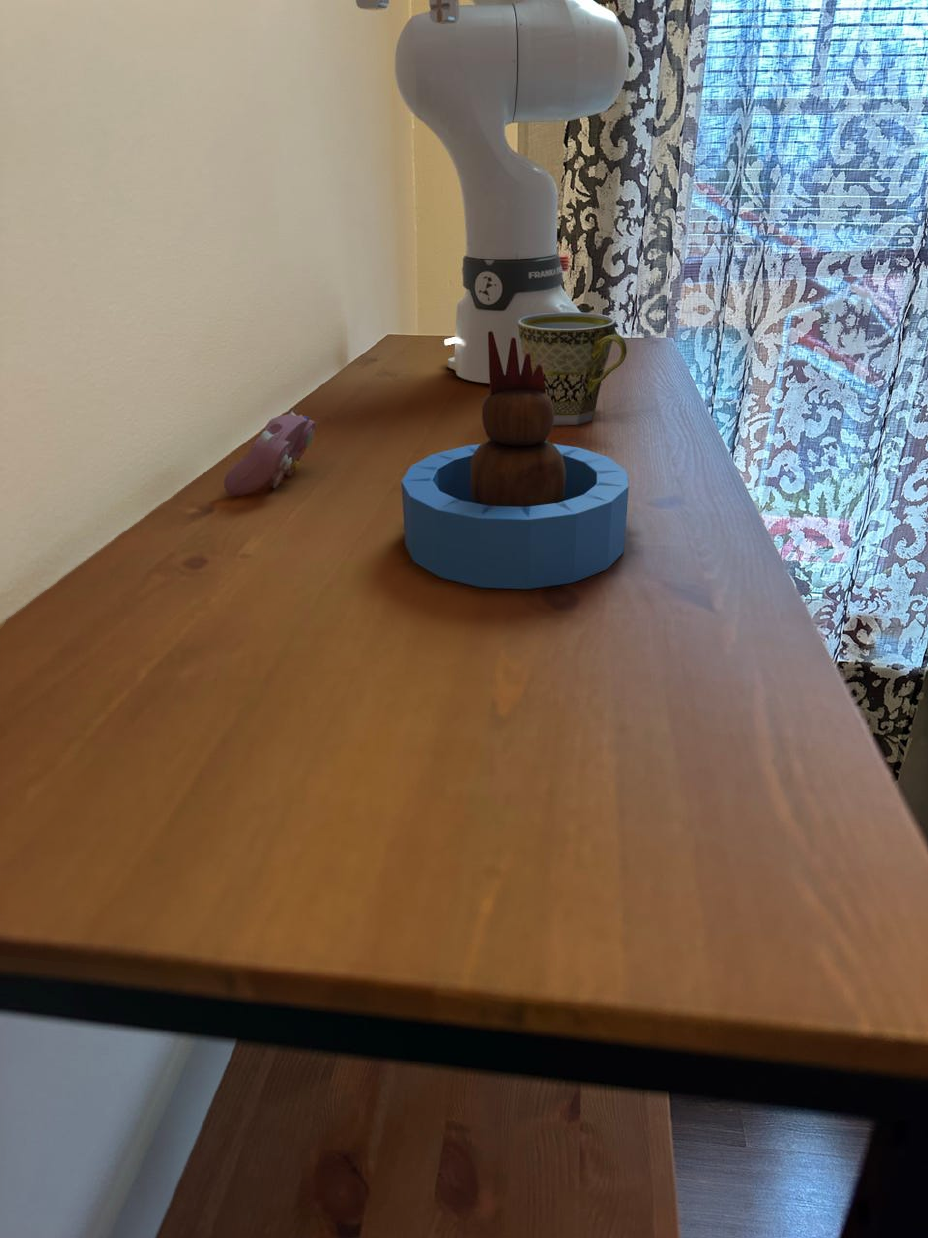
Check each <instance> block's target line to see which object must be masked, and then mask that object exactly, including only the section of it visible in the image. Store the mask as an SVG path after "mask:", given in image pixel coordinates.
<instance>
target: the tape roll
mask: <svg viewBox="0 0 928 1238" xmlns="http://www.w3.org/2000/svg"><path fill="white" fill-rule="evenodd" d="M481 444H482V443H478V444H472V445H471V444H470V445H464V446H461V447H460V446H459V447H456V448H453V449H448V450H444V451H441V452H440V451H439V452H437V453H433V454H431V455H429V456H426V457H425V458H424V459H423V458H422V459H421V460H419V461H418V462H416V463H414V464H412V465H410V466H409V468H408V469H407V471H406V473H405V474H404V475H403V478H402V480H401V482H400V483H401V484H400V485H401V499H402V513H403V514H402V515H403V528H404V543H405V546H406V548H407V551H408V554H409V555H410V557H411V560H412V561H413V563H415V564H416V565H418V566H420V567H421V568H423V569H425V570H427V571H428V572H430V573H432V574H433V575H435V576H437V577H439V578H441V579H444V580H447V581H448V580H449V581H452V582H457V583H461V584H465V585H469V586H473V587H477V588H481V589H482V588H483V589H506V590H507V589H510V590H533V589H541V588H547V587H553V586H561V585H568V584H574V583H576V582H579V581H581V580H584V579H586V578H590V577H592V576H594V575H597V574H599V573H601V572H604V571H607V570H608V569H609V568H610V567H611V566H612V565H613V564H614V563H615V562H616V561H617V560H618V559H619V558H620V557H621V556H622V555H623V554H624V552H625V542H626V531H627V530H626V529H627V516H628V515H627V514H628V502H629V490H630V485H629V484H630V483H629V473H628V471H627V470H626V469H625V468H623V466H621V465H619V464H618V463H617V462H615V461H614V460H613V459H612V458H611V457H609V456H605V455H603V454H600V453H597V452H594V451H591V450H588V449H585V448H581V447H576V446H569V445H563V444H557V443H552V444H553V445H554V446H555V447H556V448H557V449H558V450H559V452H560V453H561V455H562V457H563V460H564V464H565V468H566V477H565V491H564V499H563V502H560V503H554V504H546V505H537V506H529V507H511V506H487V505H482V504H477V503H473V502H472V494H471V470H470V466H471V461H472V456H473V454H474V452H475V451H476V449H477V448H478V446H479V445H481Z"/></svg>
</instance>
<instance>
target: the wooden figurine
mask: <svg viewBox="0 0 928 1238" xmlns="http://www.w3.org/2000/svg"><path fill="white" fill-rule="evenodd" d="M488 348H489V378H490V384H489V390H490V391H489V392H490V393H489V394H488V395H487V396H485V397H484V400H483V405H482V407H481V408H482V410H481V420H482V426H483V428H484V431H485V434H486V436H487V437H488V439H489V440H485V441H483V442H482V443H480V444H481V445H479V446H478V448H477V449H476V451H475V452H474V454H473V456H472V461H471V466H470V470H471V494H472V502H473V503H477V504H482V505H487V506H511V507H529V506H537V505H546V504H554V503H560V502H563V499H564V491H565V477H566V468H565V464H564V460H563V457H562V455H561V453H560V452H559V450H558V449H557V448H556V447H555V446H554V445H553V444H554V443H552V442H550V441H547V439H548V437H549V436H550V435H551V432H552V429H553V427H554V425H553V422H554V407H553V404H552V401H551V398H550V397H549V396H548V394H547V393H546V389H545V382H544V375H543V370H542V366H541V365H540V364H538V365H537V367H536V369H535V371H534V373H533V374H532V368H531V359H530V354H529V353H527V354H526V355H525V359H524V364H523V368H522V372H521V375H520V371H519V362H518V354H517V346H516V339H515V338H511V343H510V350H509V356H508V363H507V369H506V375H504V372H503V369H502V365H501V361H500V357H499V354H498V350H497V346H496V342H495V338H494V335H493V332H492V331H489V332H488Z"/></svg>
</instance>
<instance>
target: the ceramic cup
mask: <svg viewBox="0 0 928 1238" xmlns="http://www.w3.org/2000/svg"><path fill="white" fill-rule="evenodd" d="M616 323H617V320H616V319H615V318H614V317H612V316H609V315H605V314H601V313H594V312H593V313H592V312H582V311H580V312H557V313H543V314H536V315H531V316H527V317H524V318H521V319H520V320H519V321H518V327H519V335H520V341H521V347H522V353H523V357H524V359H525V355H526V354H527V353H529V354H530V359H531V368H532V374H533V373H534V371H535V369H536V367H537V365H538V364H540V365H541V366H542V370H543V375H544V382H545V389H546V393H547V394H548V396H549V397H550V398H551V401H552V404H553V407H554V422H553V426H554V425H555V426H556V425H557V426H558V425H559V426H561V425H563V426H566V425H567V426H568V425H570V426H574V425H580V424H584V423H588V422H590V421H591V422H592V421H593V419H594V418H595V413H596V408H597V404H598V399H599V398H598V397H599V394H600V390H601V385H602V382H603V381H604V380H605V379H606V378H607V377H608V375H609V374H611V372H612V371H614V370H615V369H617V368H619V366H620V365H622V364H623V362H624V361H625V359H626V357H627V354H628V353H627V352H628V349H627V344H626V341H625V339H624V338H623V337H622V336H621V335H619V334H615V330H616V327H615V325H616ZM613 342H615V343H617V344H618V346H619V348H620V357H619V358H618V360H617V361H616V362H615V363H614V364H612V365H610V366H609V367H608V368H607V369H606V370H605V368H606V365H607V361H608V358H609V355H610V351H611V348H612V344H613Z"/></svg>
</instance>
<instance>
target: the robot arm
mask: <svg viewBox="0 0 928 1238" xmlns="http://www.w3.org/2000/svg"><path fill="white" fill-rule="evenodd" d="M470 1H471V2H472V3H473V4H460V0H429V3H428V5H429V8H430V10H429V11H426V12H421V13H418V14H415V15H412V16H410V18H409V20H408V21H407V22H406V23H405V25H404V27H403V28H402V31H401V33H400V35H399V37H398V40H397V43H396V47H395V53H394V77H395V83H396V85H397V89H398V92H399V94H400V97H401V99H402V101H403V103H404V104H405V105H406V107H407V108H408V110H409V111H410V112H411V113H412V114H413V115H414V117H415V118H417V120H419V121H420V122H421V123H423V124H424V125H425V126H426V127H427V128H428V129H429V130H430V131H431V132H432V133H433V134H434V135H435V136H436V138H437V139H438V140H439V141H440V143H441V144H442V146H443V147H444V149H445V150H446V152H447V154H448V155H449V157H450V160H451V161H452V164H453V166H454V169H455V171H456V174H457V178H458V181H459V186H460V191H461V197H462V198H461V199H462V206H463V217H464V219H463V220H464V233H465V255H464V256H463V257H462V267H461V275H462V286H463V287H464V289H465V292H464V295H463V297H462V298H461V299H460V300H459V301H458V302H457V305H456V314H455V316H456V317H455V318H456V319H455V333H454V334H455V335H454V337H450V338H446V339H444V346H448V345H452V344H454V354H453V355H454V356H453V357H449V358H447V367H448V369H451V370H453V371H454V372H455V375H456V376H457V377H459V378H461V379H462V380H467V381H470V382H475V383H482V384H489V385H490V378H489V348H488V332H489V331H492V332H493V335H494V338H495V342H496V346H497V350H498V354H499V357H500V361H501V365H502V369H503V372H504V375H506V369H507V363H508V356H509V350H510V343H511V338H515V339H516V346H517V354H518V362H519V371H520V375H521V372H522V368H523V364H524V357H523V353H522V347H521V341H520V335H519V327H518V321H519V320H520V319H521V318H524V317H527V316H531V315H536V314H543V313H557V312H581V311H580V309H579V308H578V307H577V306H576V304H575V303H574V302H573V301H572V299H571V298H570V297H569V295H568V294H567V293H566V291H565V289H563V286H562V284H563V283H564V278H563V272H568V271H569V270H570V268H569V267H570V266H571V265H570V264H571V258H570V255H569V254H568V253H567V254H566V253H565V254H564V253H563V254H558V253H557V246H558V245H557V244H558V242H557V241H558V207H559V191H558V187H557V184H556V181H555V179H554V177H553V176H552V175H551V174H550V172H549V171H548V170H547V169H546V168H544V167H543V166H541V165H540V164H538V163H537V162H535V161H533V160H532V159H530V158H528V157H526V156H525V155H523V154H521V153H518V152H517V151H515V150H514V149H513V148H512V147H511V145H510V144H509V143H508V139H507V136H506V130H505V129H506V126H508V125H511V124H521V123H522V124H523V123H560V122H562V123H563V122H570V121H571V122H572V121H574V120H579V119H584V118H587V117H590V116H595V115H597V114H602V113H605V112H607V111H608V110H609V108H610V107H612V105H613V104H614V103H615V101H617V98H618V96H619V94H620V93H621V90H622V89H623V87H624V84H625V81H626V78H627V73H628V67H629V46H628V45H629V44H628V39H627V36H626V32H625V30H624V27H623V25H622V24H621V21H620V20H619V19H618V17H617V15H616V14H615V12H613V11H612V10H610V9H608V8H607V7H604V6H603V5H601V4H600V3H598V2H597V1H595V0H470ZM355 3H356V6H357V7H358V8H359V9H362V10H366V11H379V10H380V11H381V10H385V9H387V8H388V6H389V3H390V0H355ZM615 328H619V325H618V323H617V322H616V325H615Z"/></svg>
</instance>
